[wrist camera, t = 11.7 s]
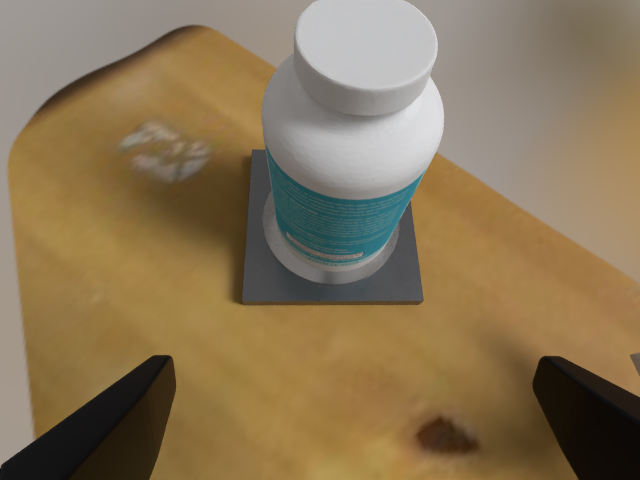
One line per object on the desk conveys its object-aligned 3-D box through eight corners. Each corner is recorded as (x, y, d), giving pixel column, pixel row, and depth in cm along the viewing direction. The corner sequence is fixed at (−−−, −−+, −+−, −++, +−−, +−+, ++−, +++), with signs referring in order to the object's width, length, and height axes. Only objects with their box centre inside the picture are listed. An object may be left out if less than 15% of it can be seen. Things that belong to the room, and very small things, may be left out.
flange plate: (418, 304, 24) (424, 299, 23) (244, 305, 23) (241, 300, 22) (400, 161, 28) (404, 151, 27) (253, 157, 27) (252, 147, 26)
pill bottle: (406, 258, 23) (526, 101, 11) (293, 289, 22) (284, 154, 10) (367, 162, 26) (427, -51, 14) (264, 186, 25) (228, -23, 13)
